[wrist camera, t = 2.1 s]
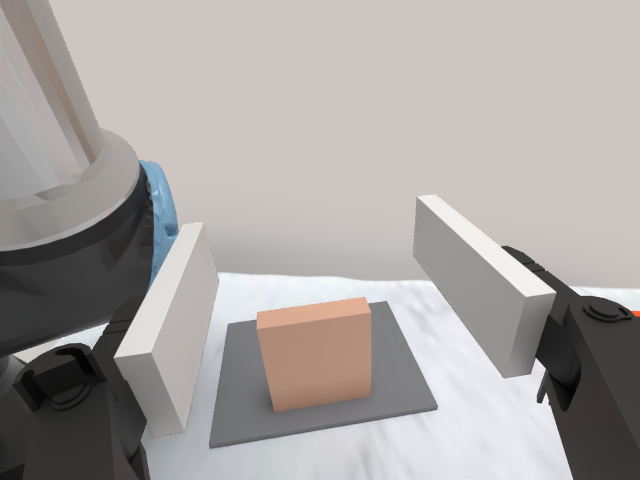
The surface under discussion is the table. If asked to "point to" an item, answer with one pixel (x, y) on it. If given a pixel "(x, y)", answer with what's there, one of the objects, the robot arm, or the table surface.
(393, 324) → the mat
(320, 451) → the table surface
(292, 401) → the tile
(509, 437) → the table surface
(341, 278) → the table surface
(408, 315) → the table surface
